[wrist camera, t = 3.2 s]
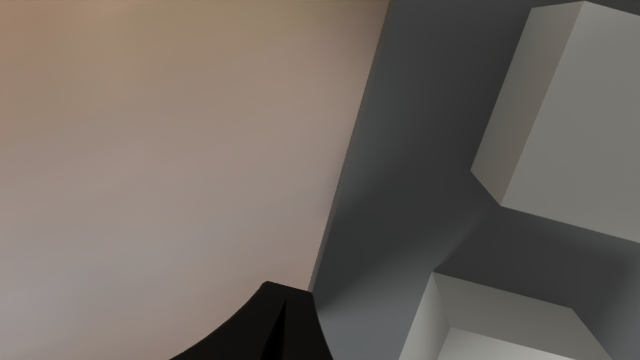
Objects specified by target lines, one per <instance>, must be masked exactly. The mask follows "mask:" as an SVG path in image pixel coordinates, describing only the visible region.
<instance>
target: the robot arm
mask: <svg viewBox="0 0 640 360" xmlns="http://www.w3.org/2000/svg"><path fill="white" fill-rule="evenodd" d="M170 360H334V359H333V357H332V355H331V352H330V350H329V347H328V345H327V342H326V339H325V337H324V334H323V331H322V328H321V325H320V322H319V318H318V315H317V311H316V306H315V301H314V296H313V295H312V293H311V292H308V291H304V290H301V289H297V288H293V287H289V286H285V285H281V284H277V283H273V282H270V281H266V282H264V283H262V285H261V286H260V288H259V289H258V290H257V292H256V293H255V294H254V295H253V296H252V297H251V298H250V299H249V300H248V301H247V303H246V304H245V305H243V306H242V307H241V308H240V309H239V310H238V311H237V312H236V313H235V314H234V315H233V316H232V317H231V318H229V319H228V320H227V321H226V322H225V323H223V324H222V325H221V326H220V327H218V328H217V329H216V330H215V331H213V332H212V333H211V334H209V335H208V336H207V337H205V338H204V339H202V340H201V341H199V342H198V343H197V344H195V345H193V346H192V347H190V348H189V349H187V350H186V351H184V352H182V353H180V354H179V355H177V356H175V357H173V358H172V359H170Z"/></svg>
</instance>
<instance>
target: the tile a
mask: <svg viewBox="0 0 640 360" xmlns="http://www.w3.org/2000/svg"><path fill="white" fill-rule="evenodd" d="M399 360H612V358H611V357H610V356H609V355H608V353H607V352H606V351H605V350H604V348H603V347H602V346H601V345H600V343H599V342H598V341H597V340H596V338H595V337H594V336H593V335H592V333H591V332H590V331H589V330H588V328H587V327H586V326H585V325H584V323H583V322H582V321H581V319H580V318H579V317H578V316H577V314H576V313H575V312H574V311H573V309H572V308H568V307H564V306H560V305H557V304H553V303H549V302H545V301H541V300H538V299H534V298H530V297H526V296H522V295H519V294H515V293H511V292H507V291H503V290H500V289H496V288H492V287H488V286H484V285H481V284H477V283H473V282H469V281H465V280H462V279H458V278H454V277H450V276H446V275H443V274H439V273H435V272H432V273H431V276H430V278H429V281H428V284H427V286H426V289H425V292H424V294H423V297H422V299H421V302H420V305H419V307H418V310H417V313H416V315H415V318H414V321H413V323H412V326H411V329H410V331H409V334H408V336H407V339H406V342H405V344H404V347H403V350H402V352H401V355H400V358H399Z"/></svg>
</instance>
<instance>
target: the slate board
mask: <svg viewBox="0 0 640 360" xmlns="http://www.w3.org/2000/svg"><path fill="white" fill-rule="evenodd" d="M579 1H587V2H590V3H594V4H598V5H601V6H605V7H609V8H612V9H616V10H620V11H623V12H627V13H631V14H634V15H638V16H640V0H390V3H389V6H388V10H387V13H386V17H385V20H384V24H383V27H382V31H381V34H380V38H379V41H378V45H377V49H376V52H375V56H374V59H373V63H372V66H371V70H370V73H369V77H368V80H367V84H366V87H365V91H364V94H363V98H362V101H361V105H360V108H359V112H358V115H357V119H356V122H355V126H354V129H353V133H352V136H351V140H350V143H349V147H348V150H347V154H346V158H345V161H344V165H343V168H342V172H341V175H340V179H339V182H338V186H337V189H336V193H335V196H334V200H333V203H332V207H331V210H330V214H329V217H328V221H327V224H326V228H325V231H324V235H323V238H322V242H321V245H320V249H319V252H318V256H317V259H316V263H315V266H314V270H313V274H312V277H311V281H310V284H309V288H308V292H311V293H312V295H313V296H314V301H315V306H316V311H317V315H318V318H319V322H320V325H321V328H322V331H323V334H324V337H325V339H326V342H327V345H328V347H329V350H330V352H331V355H332V357H333V359H334V360H399V358H400V355H401V352H402V350H403V347H404V344H405V342H406V339H407V336H408V334H409V331H410V329H411V326H412V323H413V321H414V318H415V315H416V313H417V310H418V307H419V305H420V302H421V299H422V297H423V294H424V292H425V289H426V286H427V284H428V281H429V278H430V276H431V273H432V272H435V273H439V274H443V275H446V276H450V277H454V278H458V279H462V280H465V281H469V282H473V283H477V284H481V285H484V286H488V287H492V288H496V289H500V290H503V291H507V292H511V293H515V294H519V295H522V296H526V297H530V298H534V299H538V300H541V301H545V302H549V303H553V304H557V305H560V306H564V307H568V308H572V309H573V311H574V312H575V313H576V314H577V316H578V317H579V318H580V319H581V321H582V322H583V323H584V325H585V326H586V327H587V328H588V330H589V331H590V332H591V333H592V335H593V336H594V337H595V338H596V340H597V341H598V342H599V343H600V345H601V346H602V347H603V348H604V350H605V351H606V352H607V353H608V355H609V356H610V357H611V358H612V360H640V243H638V242H635V241H631V240H627V239H623V238H619V237H616V236H612V235H608V234H604V233H601V232H597V231H593V230H589V229H586V228H582V227H578V226H574V225H571V224H567V223H563V222H559V221H556V220H552V219H548V218H544V217H541V216H537V215H533V214H529V213H526V212H522V211H518V210H514V209H510V208H507V207H503V206H500V205H499V204H498V203H497V201H496V200H495V199H494V198H493V197H492V196H491V194H490V193H489V192H488V191H487V190H486V189H485V187H484V186H483V185H482V184H481V183H480V182H479V180H478V179H477V178H476V177H475V176H474V175H473V173H472V172H471V171H470V170H471V167H472V165H473V162H474V159H475V157H476V154H477V151H478V149H479V146H480V143H481V141H482V138H483V135H484V133H485V130H486V128H487V125H488V122H489V120H490V117H491V114H492V112H493V109H494V106H495V104H496V101H497V98H498V96H499V93H500V91H501V88H502V85H503V83H504V80H505V77H506V75H507V72H508V69H509V67H510V64H511V61H512V59H513V56H514V53H515V51H516V48H517V46H518V43H519V40H520V38H521V35H522V32H523V30H524V27H525V24H526V22H527V19H528V16H529V14H530V11H531V9H532V8H536V7H543V6H550V5H558V4H565V3H572V2H579Z"/></svg>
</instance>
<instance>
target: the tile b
mask: <svg viewBox="0 0 640 360" xmlns="http://www.w3.org/2000/svg"><path fill="white" fill-rule="evenodd" d="M470 171H471V172H472V173H473V175H474V176H475V177H476V178H477V179H478V180H479V182H480V183H481V184H482V185H483V186H484V187H485V189H486V190H487V191H488V192H489V193H490V194H491V196H492V197H493V198H494V199H495V200H496V201H497V203H498V204H499V205H500V206H503V207H507V208H510V209H514V210H518V211H522V212H526V213H529V214H533V215H537V216H541V217H544V218H548V219H552V220H556V221H559V222H563V223H567V224H571V225H574V226H578V227H582V228H586V229H589V230H593V231H597V232H601V233H604V234H608V235H612V236H616V237H619V238H623V239H627V240H631V241H635V242H638V243H640V16H638V15H634V14H631V13H627V12H623V11H620V10H616V9H612V8H609V7H605V6H601V5H598V4H594V3H590V2H587V1H579V2H572V3H565V4H558V5H550V6H543V7H536V8H532V9H531V11H530V14H529V16H528V19H527V22H526V24H525V27H524V30H523V32H522V35H521V38H520V40H519V43H518V46H517V48H516V51H515V53H514V56H513V59H512V61H511V64H510V67H509V69H508V72H507V75H506V77H505V80H504V83H503V85H502V88H501V91H500V93H499V96H498V98H497V101H496V104H495V106H494V109H493V112H492V114H491V117H490V120H489V122H488V125H487V128H486V130H485V133H484V135H483V138H482V141H481V143H480V146H479V149H478V151H477V154H476V157H475V159H474V162H473V165H472V167H471V170H470Z"/></svg>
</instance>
